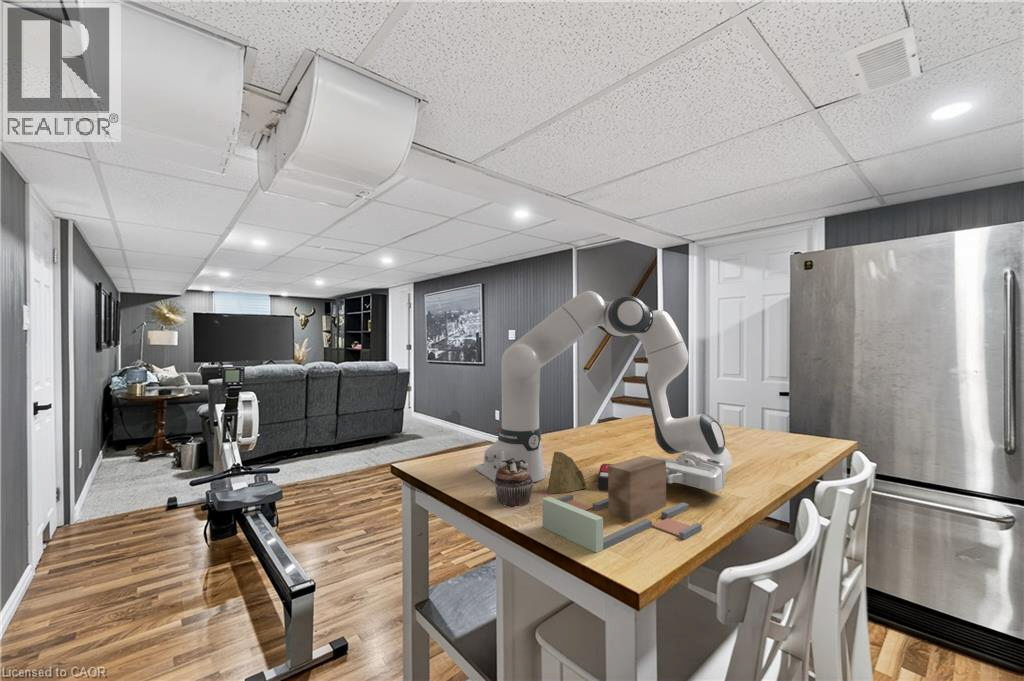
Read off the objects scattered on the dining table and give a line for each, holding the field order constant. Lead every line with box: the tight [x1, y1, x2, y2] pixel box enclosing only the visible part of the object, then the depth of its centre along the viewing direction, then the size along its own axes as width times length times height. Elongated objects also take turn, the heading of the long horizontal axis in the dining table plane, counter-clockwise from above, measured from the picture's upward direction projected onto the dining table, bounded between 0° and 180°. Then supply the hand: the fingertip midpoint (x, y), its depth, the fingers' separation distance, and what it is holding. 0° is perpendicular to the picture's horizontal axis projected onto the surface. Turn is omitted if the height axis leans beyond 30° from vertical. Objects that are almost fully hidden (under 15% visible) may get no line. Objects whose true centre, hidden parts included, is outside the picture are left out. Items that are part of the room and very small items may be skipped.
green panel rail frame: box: [541, 494, 703, 554], centre depth 95 cm, size 30×33×6 cm
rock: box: [547, 451, 588, 495], centre depth 113 cm, size 11×9×10 cm
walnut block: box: [607, 455, 667, 523], centre depth 99 cm, size 6×14×11 cm, turn 129°
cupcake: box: [494, 458, 534, 508], centre depth 106 cm, size 10×10×10 cm
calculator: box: [597, 463, 613, 491], centre depth 119 cm, size 11×4×15 cm
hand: (664, 478), depth 107 cm, fingers closed
